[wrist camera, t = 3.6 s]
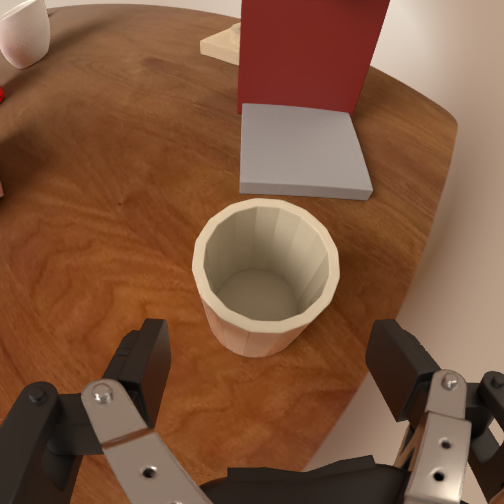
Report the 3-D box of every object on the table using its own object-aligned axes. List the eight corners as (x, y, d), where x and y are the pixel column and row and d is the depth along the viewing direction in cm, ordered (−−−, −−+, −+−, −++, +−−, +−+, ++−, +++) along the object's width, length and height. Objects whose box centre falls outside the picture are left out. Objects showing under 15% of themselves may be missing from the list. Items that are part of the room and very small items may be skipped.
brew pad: (311, 56, 37) (315, 33, 33) (273, 79, 33) (276, 52, 29) (243, 33, 40) (245, 13, 36) (200, 53, 36) (199, 29, 32)
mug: (15, 57, 40) (0, 13, 29) (58, 36, 43) (46, -11, 32) (6, 83, 35) (-15, 30, 23) (56, 56, 38) (40, -1, 26)
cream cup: (281, 255, 22) (303, 185, 15) (317, 337, 20) (363, 300, 13) (195, 282, 21) (177, 219, 14) (225, 370, 18) (219, 354, 11)
